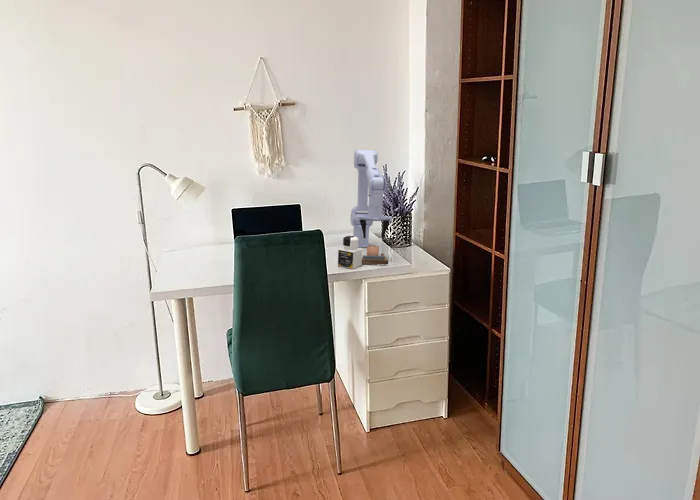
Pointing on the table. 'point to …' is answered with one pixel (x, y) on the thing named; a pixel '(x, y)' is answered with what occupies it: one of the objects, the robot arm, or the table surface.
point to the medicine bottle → (350, 253)
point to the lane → (375, 261)
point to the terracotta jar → (373, 250)
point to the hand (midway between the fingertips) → (373, 238)
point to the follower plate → (373, 257)
